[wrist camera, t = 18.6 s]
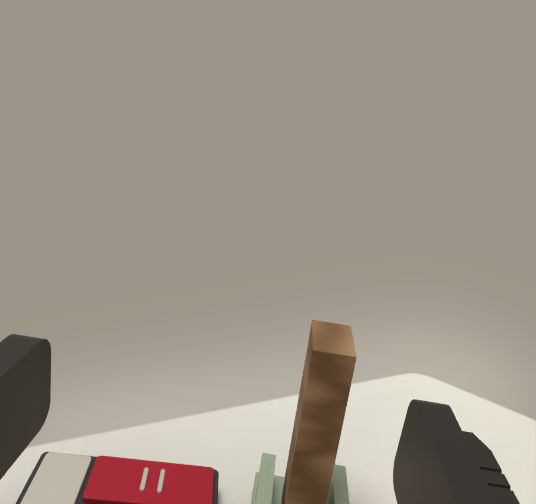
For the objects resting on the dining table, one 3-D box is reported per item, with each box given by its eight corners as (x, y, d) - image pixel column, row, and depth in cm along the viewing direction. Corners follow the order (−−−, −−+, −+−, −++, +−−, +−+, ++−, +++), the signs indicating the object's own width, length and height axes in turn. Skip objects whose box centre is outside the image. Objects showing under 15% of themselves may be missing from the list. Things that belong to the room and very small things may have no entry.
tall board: (278, 545, 39) (312, 350, 34) (281, 497, 44) (312, 320, 39) (316, 551, 39) (356, 357, 34) (315, 502, 44) (350, 325, 39)
